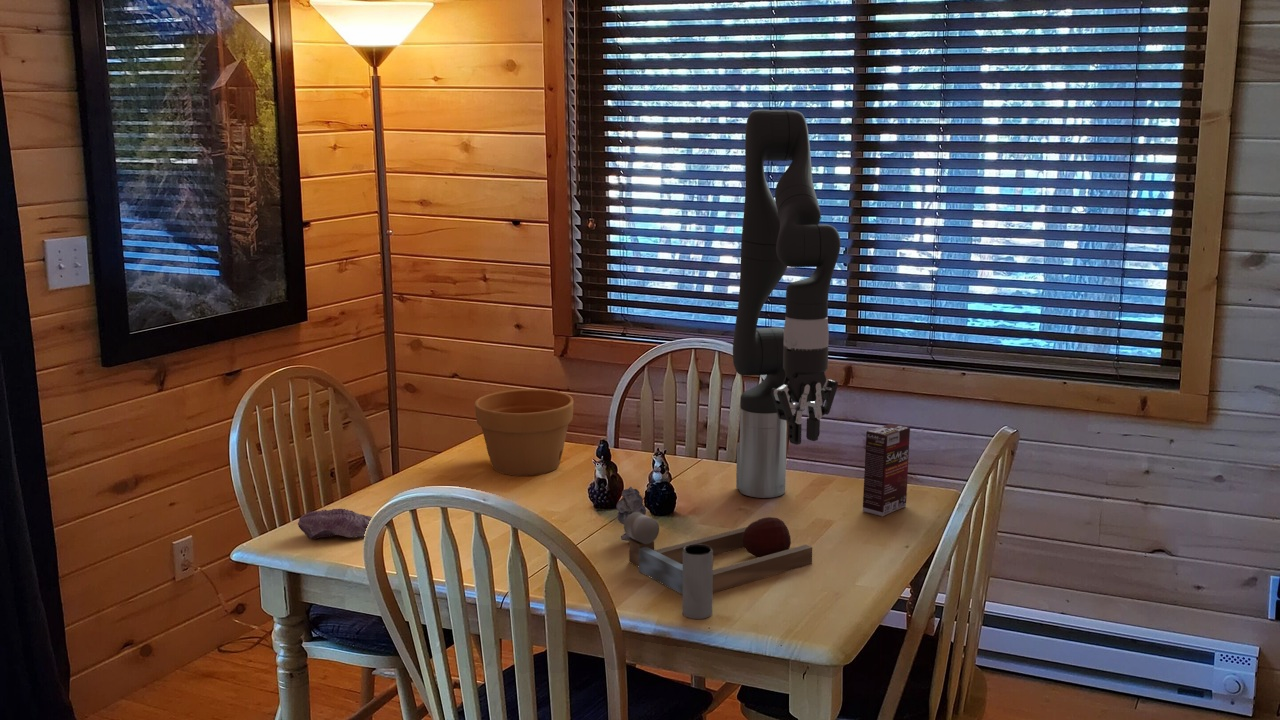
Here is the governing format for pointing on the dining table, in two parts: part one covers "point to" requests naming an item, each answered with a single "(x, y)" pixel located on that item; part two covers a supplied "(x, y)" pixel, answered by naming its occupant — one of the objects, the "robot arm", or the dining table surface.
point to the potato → (766, 537)
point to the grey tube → (697, 581)
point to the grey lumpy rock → (629, 506)
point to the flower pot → (524, 429)
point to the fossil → (333, 523)
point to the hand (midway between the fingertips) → (803, 441)
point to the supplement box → (886, 469)
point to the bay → (670, 559)
